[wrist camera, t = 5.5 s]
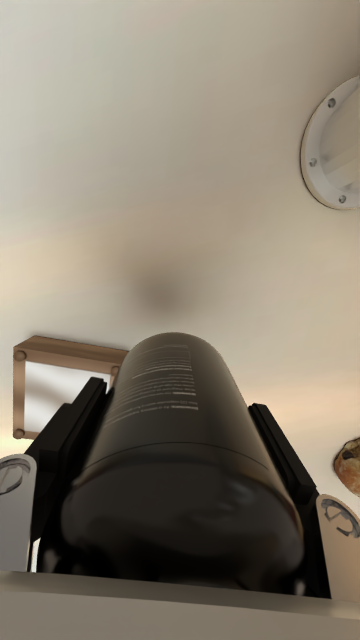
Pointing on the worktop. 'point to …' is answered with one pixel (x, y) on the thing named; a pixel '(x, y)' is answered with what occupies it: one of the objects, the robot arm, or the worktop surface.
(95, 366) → the walnut base block
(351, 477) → the bread roll
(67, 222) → the worktop surface
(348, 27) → the worktop surface
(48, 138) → the worktop surface
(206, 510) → the supplement bottle
